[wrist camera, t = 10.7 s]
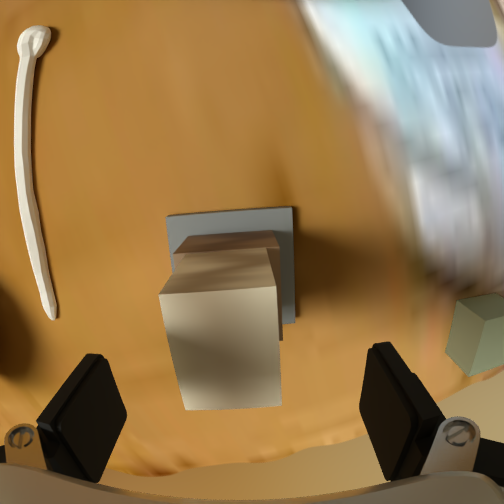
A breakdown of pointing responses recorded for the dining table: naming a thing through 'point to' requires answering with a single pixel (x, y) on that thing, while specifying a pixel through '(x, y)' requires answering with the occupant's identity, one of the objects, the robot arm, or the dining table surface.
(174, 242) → the slate board
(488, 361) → the olive block
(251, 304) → the birch block
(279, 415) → the dining table surface
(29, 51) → the knobbed tapering rod
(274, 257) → the walnut block
